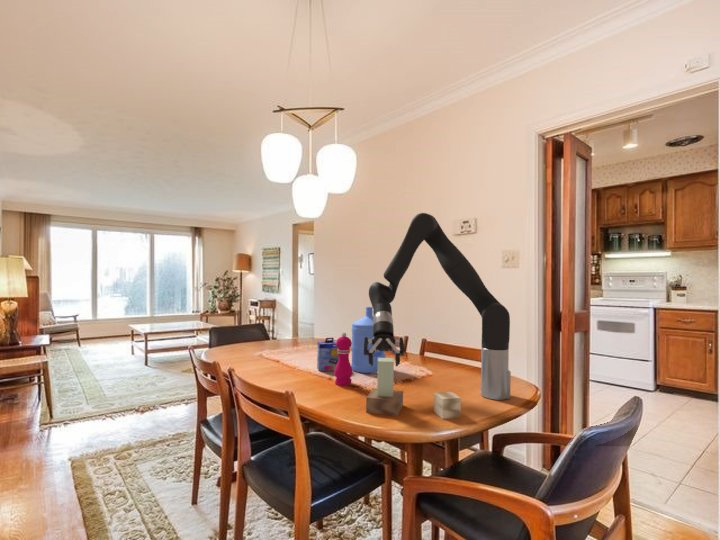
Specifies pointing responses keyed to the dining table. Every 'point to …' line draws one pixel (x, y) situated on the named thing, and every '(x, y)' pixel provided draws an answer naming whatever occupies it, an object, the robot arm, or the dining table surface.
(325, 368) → the ink cartridge box
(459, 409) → the maple cube
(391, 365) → the sage block
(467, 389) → the dining table surface
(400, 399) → the walnut block
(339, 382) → the pepper mill
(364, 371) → the water jug
